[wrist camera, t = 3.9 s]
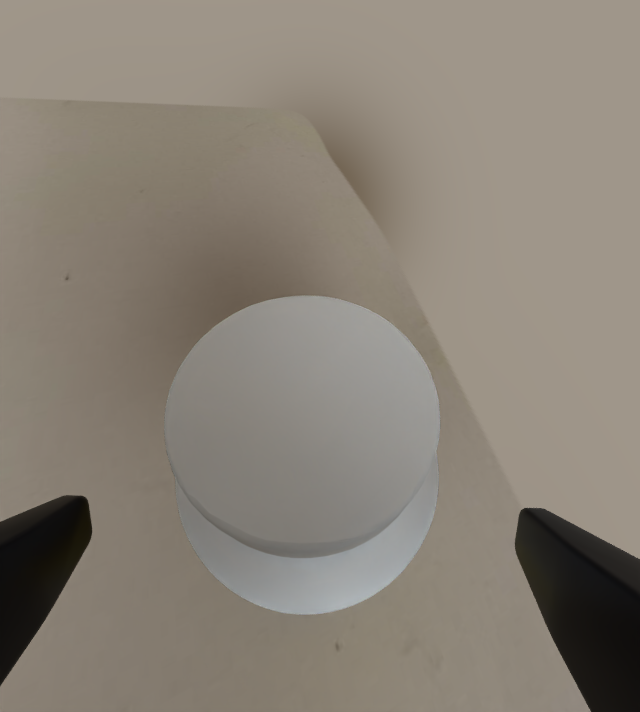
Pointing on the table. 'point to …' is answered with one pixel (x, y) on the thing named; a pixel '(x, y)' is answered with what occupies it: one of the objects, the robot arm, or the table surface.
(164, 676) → the table surface
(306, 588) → the pill bottle
